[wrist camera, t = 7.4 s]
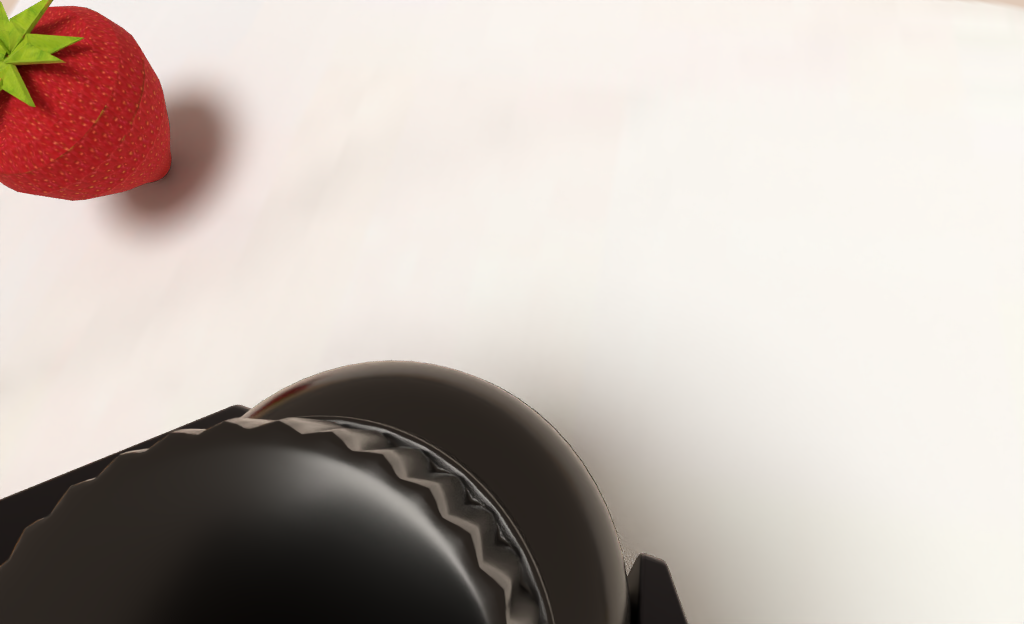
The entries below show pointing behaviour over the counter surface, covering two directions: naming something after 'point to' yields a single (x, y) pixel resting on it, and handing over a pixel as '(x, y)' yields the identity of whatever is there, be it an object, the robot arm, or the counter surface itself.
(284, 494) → the supplement bottle
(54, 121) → the strawberry
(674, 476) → the counter surface
